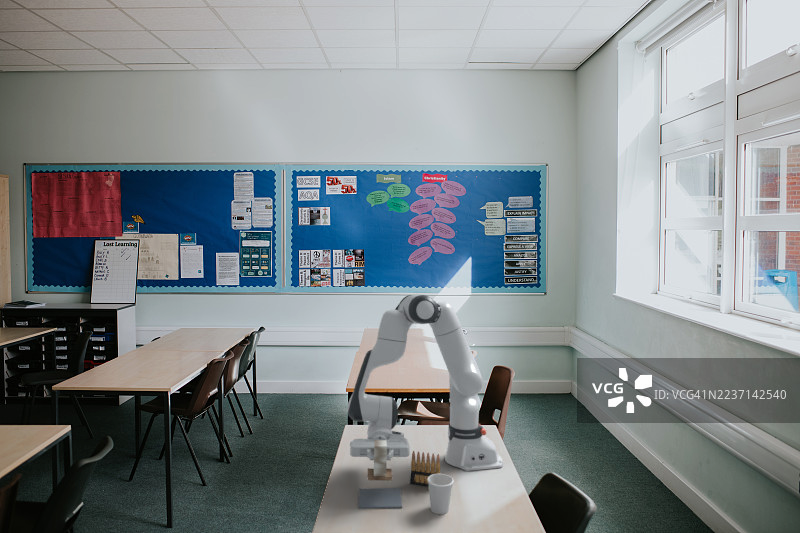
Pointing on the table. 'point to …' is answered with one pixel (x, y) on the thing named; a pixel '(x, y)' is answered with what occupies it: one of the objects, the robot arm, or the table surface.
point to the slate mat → (379, 498)
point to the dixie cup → (440, 492)
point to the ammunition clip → (423, 469)
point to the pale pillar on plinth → (380, 463)
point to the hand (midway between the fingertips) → (380, 458)
